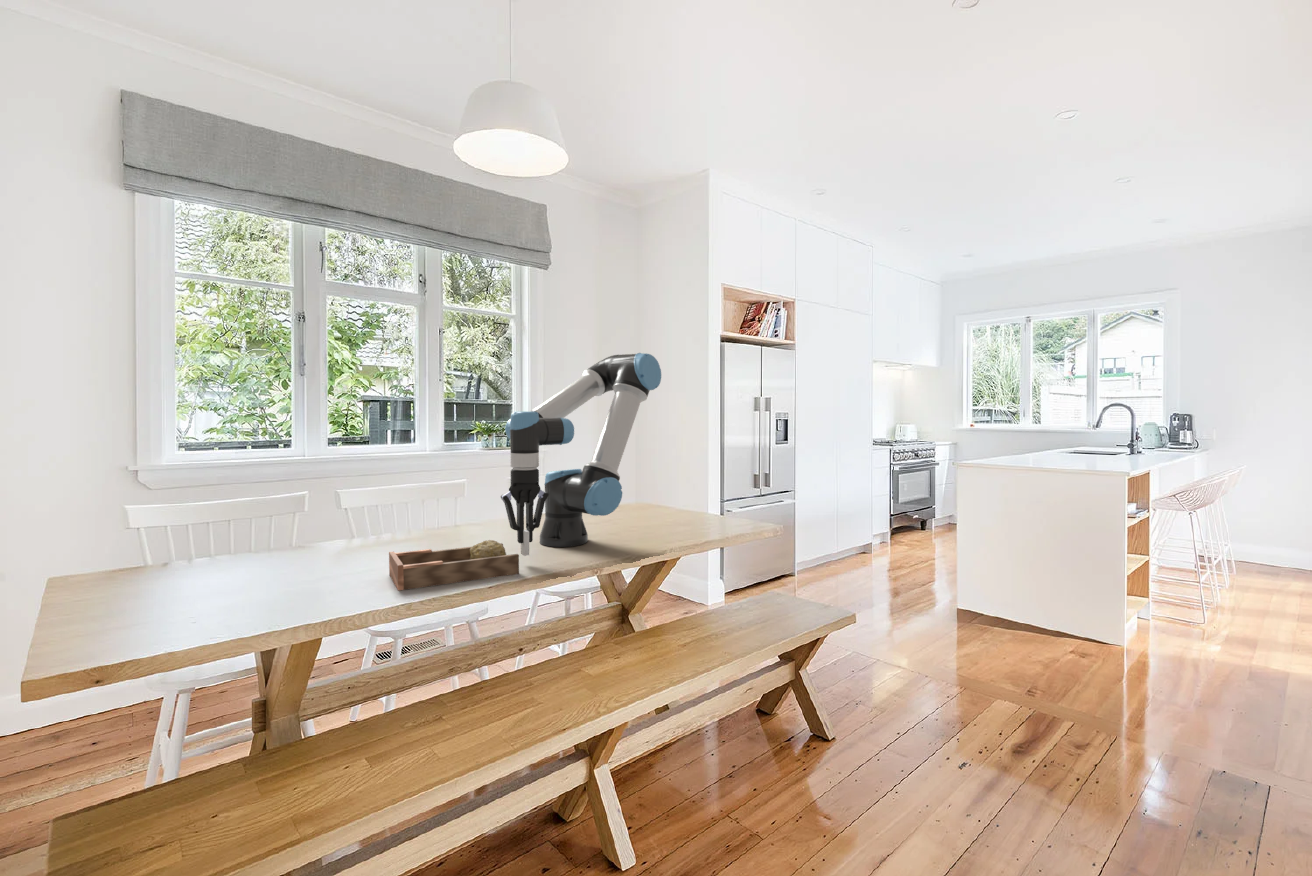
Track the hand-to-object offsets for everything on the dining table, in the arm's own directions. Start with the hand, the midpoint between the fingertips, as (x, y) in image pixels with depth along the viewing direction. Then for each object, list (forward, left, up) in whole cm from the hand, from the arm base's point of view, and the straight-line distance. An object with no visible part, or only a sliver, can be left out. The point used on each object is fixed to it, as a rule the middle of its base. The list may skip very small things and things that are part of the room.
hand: (525, 554), depth 169 cm
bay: (+18, 0, -3) cm, 18 cm away
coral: (+10, 0, -3) cm, 11 cm away
